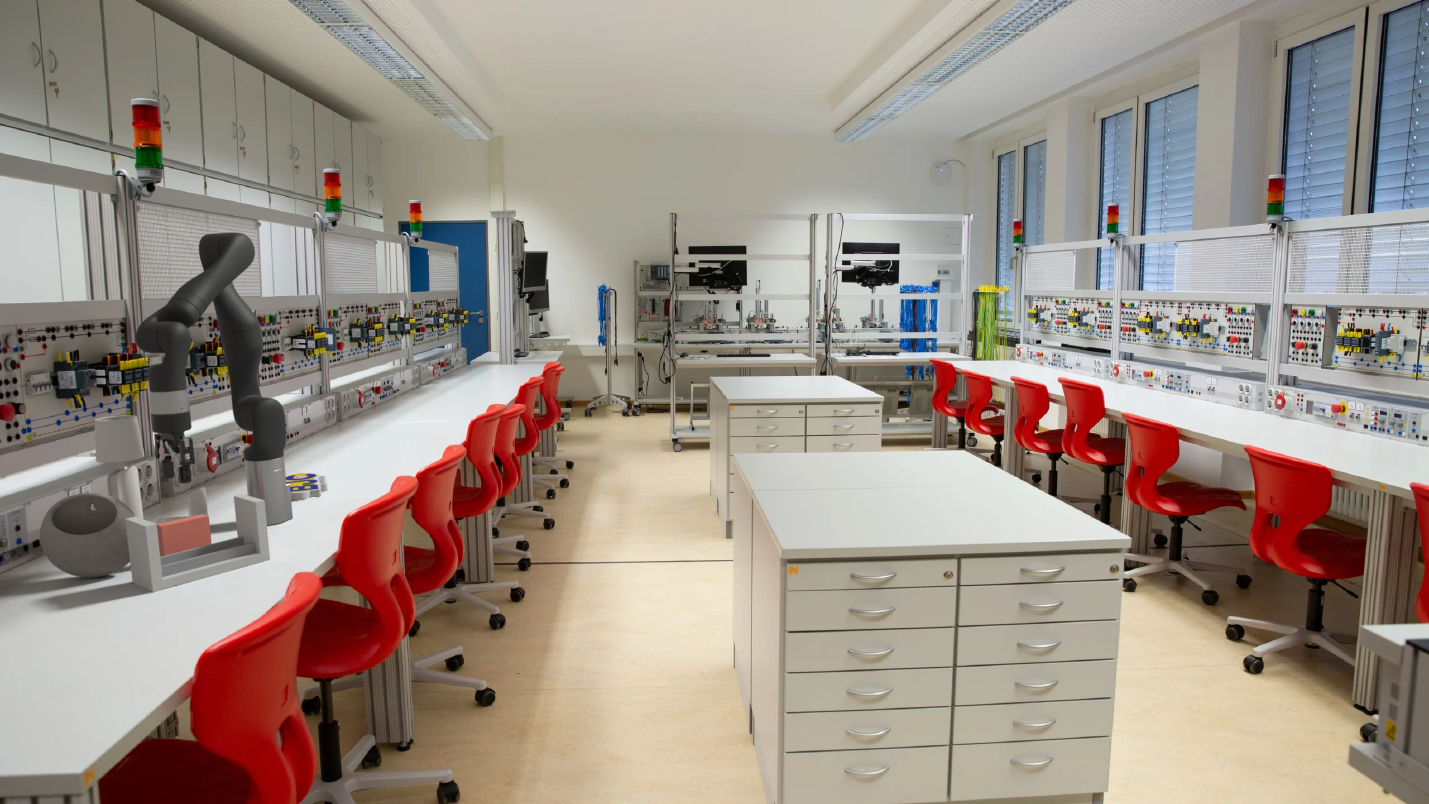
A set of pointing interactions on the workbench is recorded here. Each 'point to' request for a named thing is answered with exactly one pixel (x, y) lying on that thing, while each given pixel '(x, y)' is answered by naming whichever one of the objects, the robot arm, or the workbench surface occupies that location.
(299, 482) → the sign
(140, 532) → the u-shaped grey holder
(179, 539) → the red rectangular block
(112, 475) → the wall lamp
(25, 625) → the workbench surface
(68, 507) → the planter
